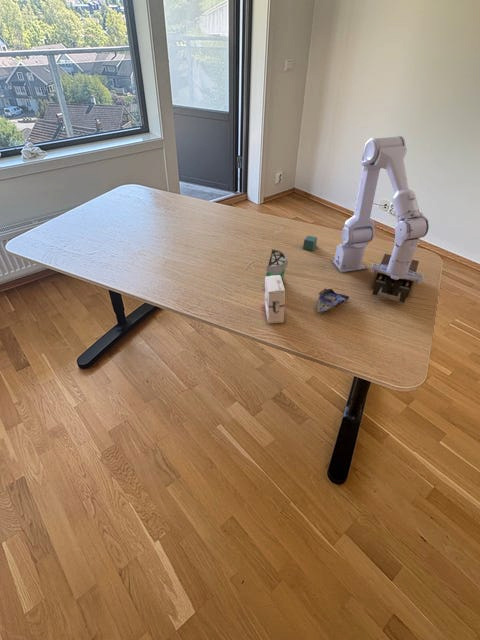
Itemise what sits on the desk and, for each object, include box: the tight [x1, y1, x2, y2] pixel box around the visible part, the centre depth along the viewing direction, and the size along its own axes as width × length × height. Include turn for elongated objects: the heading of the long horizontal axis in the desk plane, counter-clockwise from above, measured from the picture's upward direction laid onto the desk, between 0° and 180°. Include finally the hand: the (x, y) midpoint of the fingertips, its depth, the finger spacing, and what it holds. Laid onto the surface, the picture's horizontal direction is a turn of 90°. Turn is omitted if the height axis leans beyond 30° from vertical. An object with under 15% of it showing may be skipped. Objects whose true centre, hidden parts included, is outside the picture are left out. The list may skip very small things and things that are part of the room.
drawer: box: [371, 274, 410, 304], centre depth 112 cm, size 17×10×5 cm, turn 152°
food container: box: [266, 248, 288, 282], centre depth 116 cm, size 12×6×10 cm, turn 168°
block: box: [302, 235, 318, 252], centre depth 137 cm, size 4×4×4 cm
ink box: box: [264, 275, 286, 324], centre depth 103 cm, size 9×5×12 cm, turn 5°
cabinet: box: [372, 253, 420, 298], centre depth 117 cm, size 13×11×7 cm
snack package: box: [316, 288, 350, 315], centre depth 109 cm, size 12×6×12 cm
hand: (388, 295), depth 108 cm, fingers closed, pressing on drawer
